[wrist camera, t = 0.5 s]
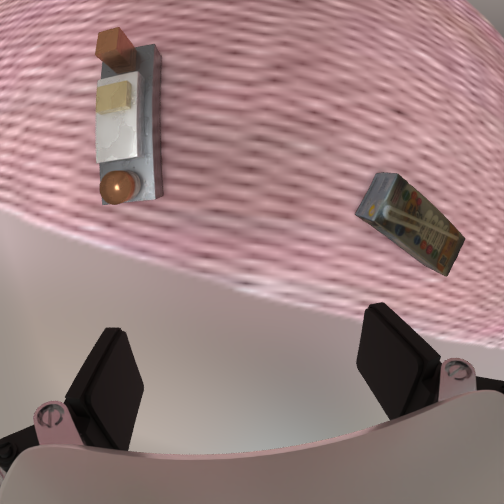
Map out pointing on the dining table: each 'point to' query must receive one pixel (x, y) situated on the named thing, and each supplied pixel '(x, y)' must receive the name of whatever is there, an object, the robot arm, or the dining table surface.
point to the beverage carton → (411, 222)
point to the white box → (120, 118)
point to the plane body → (149, 168)
